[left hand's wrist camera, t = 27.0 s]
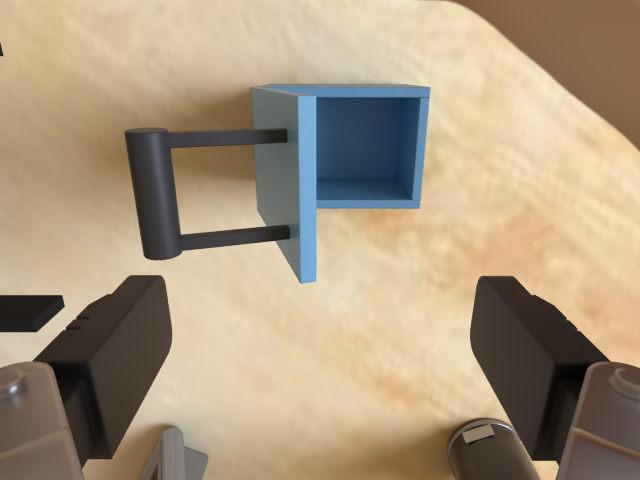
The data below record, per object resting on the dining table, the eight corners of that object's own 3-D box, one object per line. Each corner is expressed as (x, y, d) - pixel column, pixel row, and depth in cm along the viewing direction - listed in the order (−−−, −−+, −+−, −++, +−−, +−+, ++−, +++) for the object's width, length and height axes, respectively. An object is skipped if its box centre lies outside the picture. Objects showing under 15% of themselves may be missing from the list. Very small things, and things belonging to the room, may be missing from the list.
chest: (408, 84, 41) (430, 87, 32) (401, 183, 44) (419, 208, 36) (270, 84, 41) (257, 86, 32) (274, 183, 44) (263, 208, 36)
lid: (316, 95, 20) (110, 98, 17) (316, 281, 23) (145, 305, 21) (263, 87, 32) (138, 87, 30) (268, 209, 36) (156, 219, 33)
